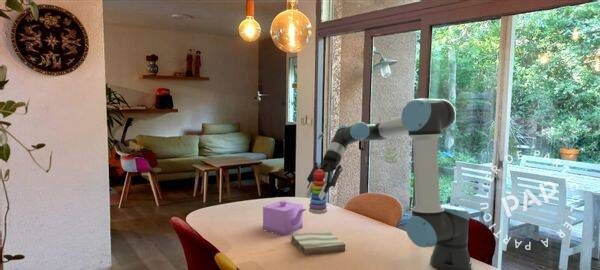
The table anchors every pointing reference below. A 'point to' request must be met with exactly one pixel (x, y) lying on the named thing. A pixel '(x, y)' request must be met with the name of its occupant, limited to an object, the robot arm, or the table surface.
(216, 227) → the table surface
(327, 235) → the wooden square board
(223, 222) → the table surface
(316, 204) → the stacking toy
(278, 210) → the teapot
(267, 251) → the table surface
